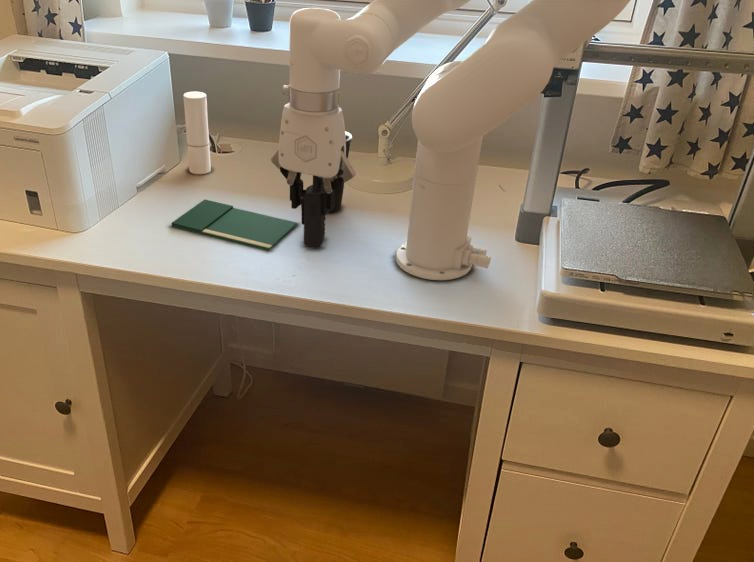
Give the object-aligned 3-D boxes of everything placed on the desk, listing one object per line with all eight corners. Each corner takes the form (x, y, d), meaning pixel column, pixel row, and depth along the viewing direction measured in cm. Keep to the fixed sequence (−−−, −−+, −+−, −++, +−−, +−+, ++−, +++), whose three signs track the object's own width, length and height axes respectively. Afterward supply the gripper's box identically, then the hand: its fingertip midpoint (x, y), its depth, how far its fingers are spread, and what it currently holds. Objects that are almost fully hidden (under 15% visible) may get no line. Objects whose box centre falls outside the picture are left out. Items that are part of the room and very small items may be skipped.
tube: (215, 170, 152) (210, 95, 144) (197, 176, 150) (191, 99, 141) (202, 164, 155) (197, 90, 146) (185, 169, 152) (178, 94, 144)
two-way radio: (321, 251, 127) (323, 165, 118) (295, 248, 127) (295, 163, 118) (326, 236, 131) (328, 152, 122) (301, 233, 132) (301, 150, 123)
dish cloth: (297, 224, 134) (297, 220, 134) (268, 250, 126) (268, 246, 126) (204, 203, 140) (204, 199, 140) (171, 226, 132) (171, 222, 131)
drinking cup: (344, 219, 137) (349, 108, 125) (303, 213, 138) (304, 103, 126) (351, 201, 143) (357, 95, 131) (312, 197, 144) (315, 90, 132)
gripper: (253, 96, 114) (256, 207, 125) (356, 114, 109) (350, 228, 120) (275, 83, 120) (276, 191, 131) (375, 100, 115) (367, 210, 126)
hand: (312, 207), depth 125 cm, fingers closed on two-way radio, 4 cm apart
